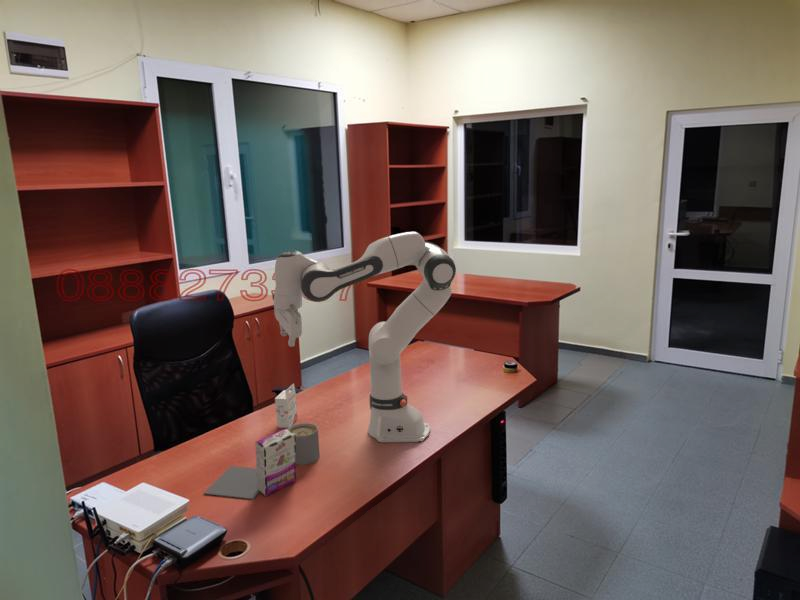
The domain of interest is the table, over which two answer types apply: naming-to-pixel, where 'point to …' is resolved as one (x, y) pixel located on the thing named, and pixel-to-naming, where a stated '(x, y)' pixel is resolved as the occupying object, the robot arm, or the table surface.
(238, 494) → the mat
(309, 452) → the coffee mug
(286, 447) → the candy bar box
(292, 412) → the ink cartridge box
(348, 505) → the table surface
